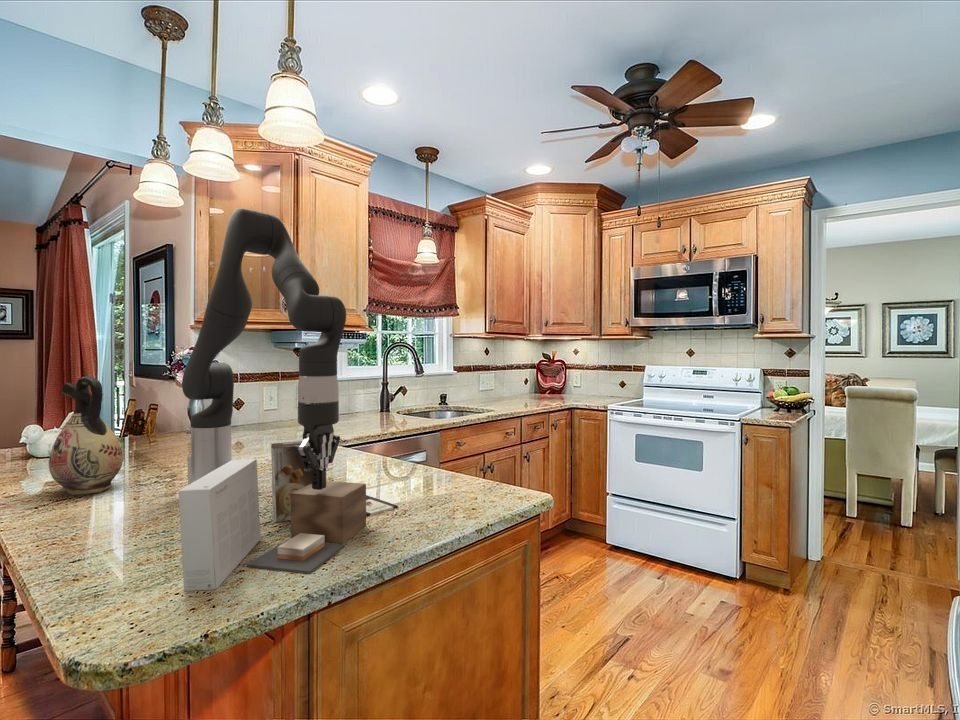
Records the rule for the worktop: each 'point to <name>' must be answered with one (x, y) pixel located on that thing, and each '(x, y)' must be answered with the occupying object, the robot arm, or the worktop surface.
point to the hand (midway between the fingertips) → (319, 488)
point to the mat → (306, 566)
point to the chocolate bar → (377, 506)
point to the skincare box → (218, 523)
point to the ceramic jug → (85, 444)
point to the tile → (301, 546)
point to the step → (329, 511)
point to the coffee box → (286, 478)
